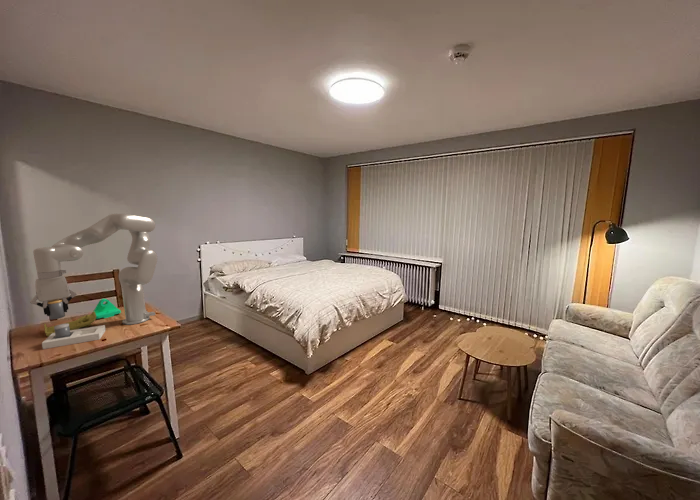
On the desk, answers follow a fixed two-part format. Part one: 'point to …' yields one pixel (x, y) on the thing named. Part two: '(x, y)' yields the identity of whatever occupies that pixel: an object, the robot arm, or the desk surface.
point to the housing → (75, 337)
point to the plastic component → (74, 323)
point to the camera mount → (105, 309)
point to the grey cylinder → (62, 331)
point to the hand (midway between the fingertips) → (56, 313)
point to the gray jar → (56, 309)
